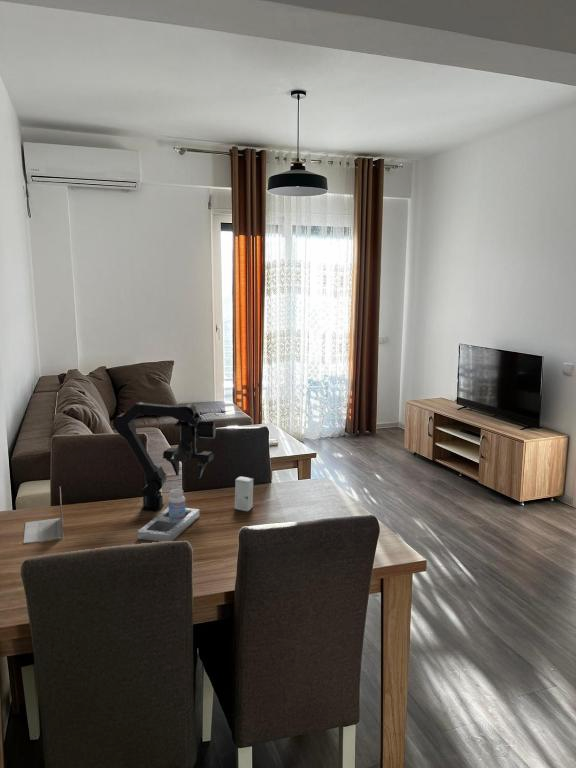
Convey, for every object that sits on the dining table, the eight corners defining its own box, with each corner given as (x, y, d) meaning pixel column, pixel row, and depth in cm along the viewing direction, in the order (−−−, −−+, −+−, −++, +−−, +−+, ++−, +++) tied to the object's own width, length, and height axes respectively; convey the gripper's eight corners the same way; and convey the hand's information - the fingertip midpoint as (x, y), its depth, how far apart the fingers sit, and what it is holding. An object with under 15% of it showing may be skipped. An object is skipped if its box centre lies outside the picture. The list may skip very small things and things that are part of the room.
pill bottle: (171, 524, 209) (170, 494, 207) (166, 518, 215) (166, 489, 213) (187, 521, 212) (187, 492, 210) (182, 515, 217) (182, 486, 215)
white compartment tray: (137, 539, 198) (137, 531, 197) (170, 513, 221) (169, 505, 220) (170, 544, 195) (169, 535, 194) (199, 517, 217) (199, 509, 217)
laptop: (25, 524, 210) (23, 489, 207) (62, 519, 214) (60, 485, 212) (23, 545, 193) (20, 507, 191) (63, 539, 198) (61, 503, 195)
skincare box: (234, 509, 226) (234, 479, 223) (239, 505, 230) (239, 475, 228) (248, 511, 223) (248, 481, 221) (253, 507, 227) (253, 478, 225)
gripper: (155, 440, 215) (156, 481, 217) (202, 445, 210) (202, 486, 213) (169, 433, 225) (170, 471, 228) (214, 437, 221) (214, 476, 223)
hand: (188, 476), depth 223 cm, fingers open, 9 cm apart
